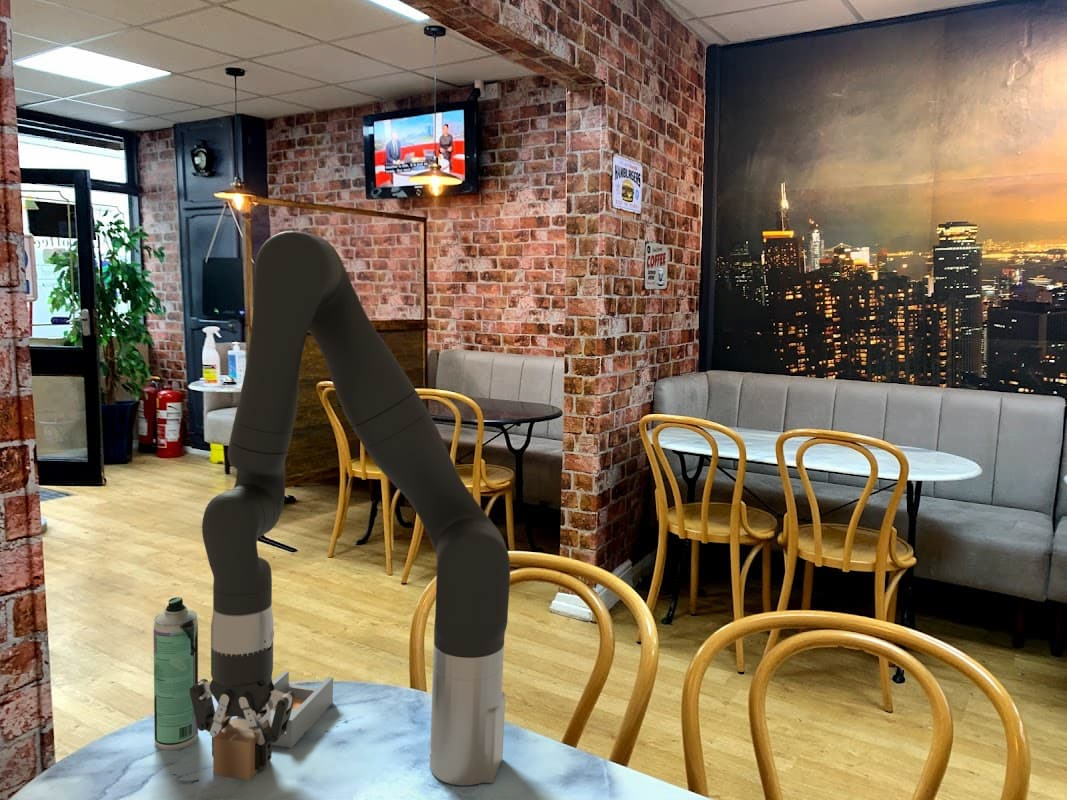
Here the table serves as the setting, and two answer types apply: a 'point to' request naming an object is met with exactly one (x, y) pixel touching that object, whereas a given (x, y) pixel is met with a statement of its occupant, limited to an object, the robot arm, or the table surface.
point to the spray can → (175, 675)
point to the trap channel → (301, 707)
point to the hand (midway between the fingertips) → (241, 763)
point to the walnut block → (234, 751)
